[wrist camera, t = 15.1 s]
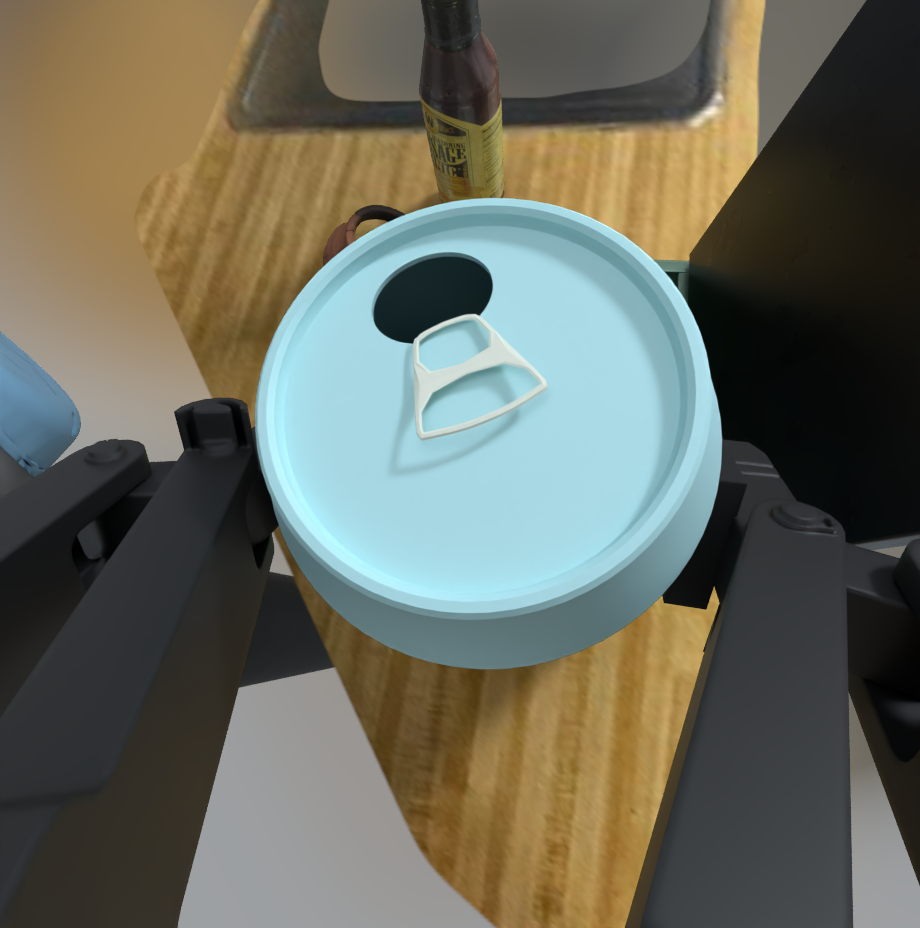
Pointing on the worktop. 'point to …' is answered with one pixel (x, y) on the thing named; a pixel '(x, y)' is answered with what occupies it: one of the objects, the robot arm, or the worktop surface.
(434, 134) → the sauce bottle
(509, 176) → the worktop surface
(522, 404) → the can
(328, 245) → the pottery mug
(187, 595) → the robot arm
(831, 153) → the box lid
